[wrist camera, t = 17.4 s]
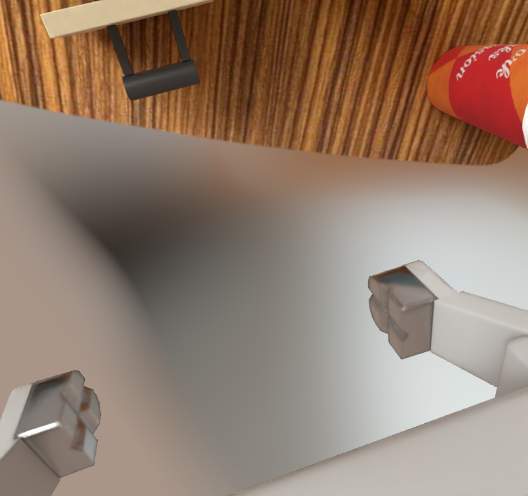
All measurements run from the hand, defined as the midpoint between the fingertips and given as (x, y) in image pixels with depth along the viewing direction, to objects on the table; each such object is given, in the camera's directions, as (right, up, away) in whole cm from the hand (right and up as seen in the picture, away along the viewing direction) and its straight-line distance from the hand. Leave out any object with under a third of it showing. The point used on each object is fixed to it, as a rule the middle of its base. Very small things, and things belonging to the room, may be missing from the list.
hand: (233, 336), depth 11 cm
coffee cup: (+20, +19, +28) cm, 39 cm away
